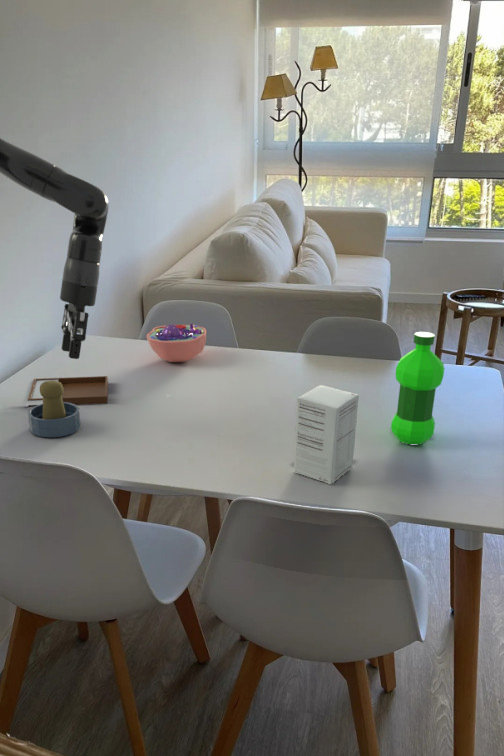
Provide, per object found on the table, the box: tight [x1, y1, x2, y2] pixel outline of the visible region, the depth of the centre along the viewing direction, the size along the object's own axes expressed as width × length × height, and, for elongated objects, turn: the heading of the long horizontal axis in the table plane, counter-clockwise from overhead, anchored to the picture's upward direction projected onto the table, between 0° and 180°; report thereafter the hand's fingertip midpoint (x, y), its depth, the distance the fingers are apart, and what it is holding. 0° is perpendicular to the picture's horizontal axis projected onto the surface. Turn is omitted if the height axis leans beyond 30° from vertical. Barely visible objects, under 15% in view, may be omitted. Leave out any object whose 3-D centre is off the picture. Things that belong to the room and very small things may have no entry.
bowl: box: [27, 402, 82, 438], centre depth 162 cm, size 11×11×4 cm
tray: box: [27, 375, 109, 408], centre depth 183 cm, size 19×15×2 cm
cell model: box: [146, 323, 207, 363], centre depth 208 cm, size 17×20×11 cm
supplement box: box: [293, 384, 360, 485], centre depth 143 cm, size 10×9×17 cm
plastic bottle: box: [390, 331, 445, 445], centre depth 156 cm, size 10×10×25 cm
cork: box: [39, 380, 67, 420], centre depth 161 cm, size 6×6×11 cm
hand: (69, 354), depth 157 cm, fingers open, 8 cm apart
